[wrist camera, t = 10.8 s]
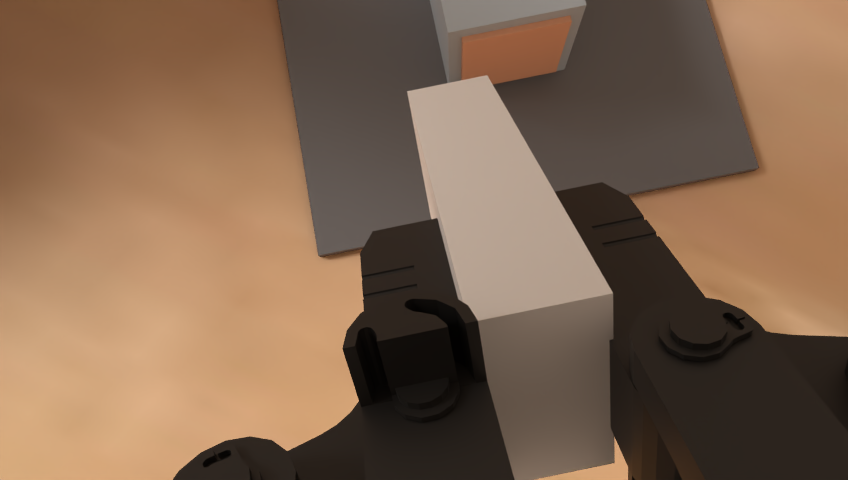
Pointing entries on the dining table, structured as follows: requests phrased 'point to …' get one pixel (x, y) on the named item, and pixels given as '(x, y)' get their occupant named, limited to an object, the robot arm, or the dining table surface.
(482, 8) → the block
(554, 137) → the mat
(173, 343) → the dining table surface
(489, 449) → the robot arm
